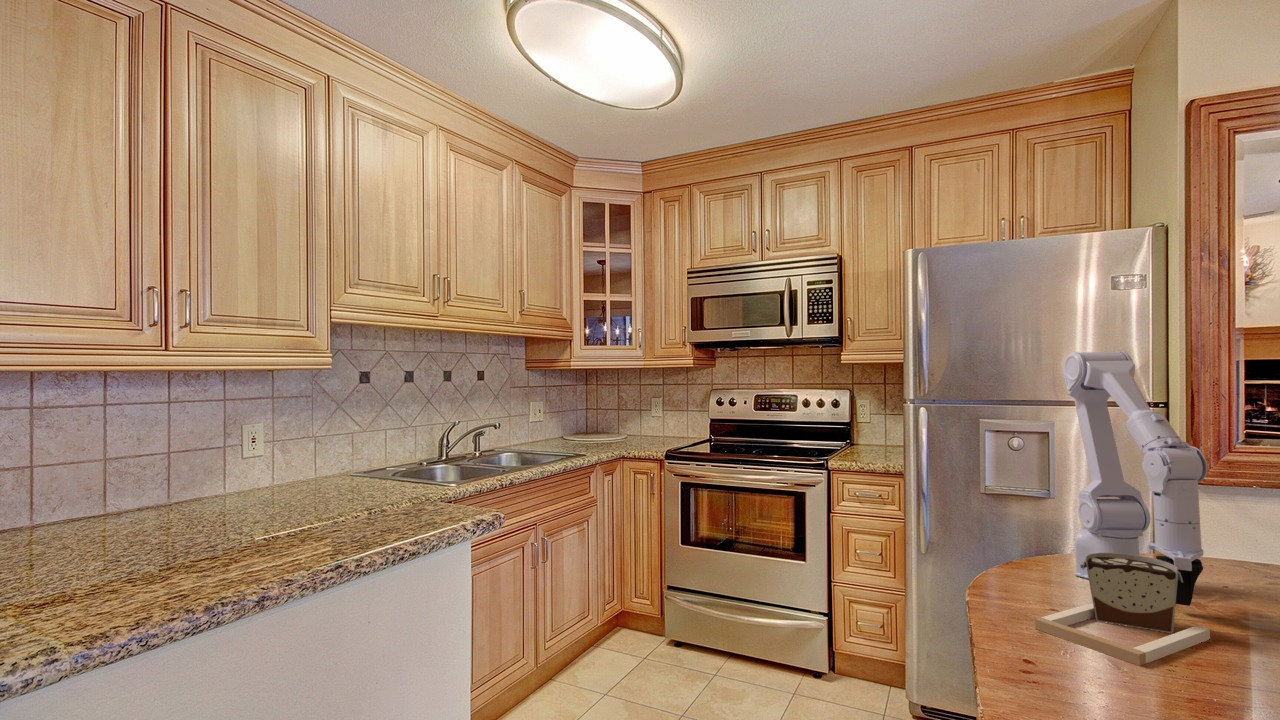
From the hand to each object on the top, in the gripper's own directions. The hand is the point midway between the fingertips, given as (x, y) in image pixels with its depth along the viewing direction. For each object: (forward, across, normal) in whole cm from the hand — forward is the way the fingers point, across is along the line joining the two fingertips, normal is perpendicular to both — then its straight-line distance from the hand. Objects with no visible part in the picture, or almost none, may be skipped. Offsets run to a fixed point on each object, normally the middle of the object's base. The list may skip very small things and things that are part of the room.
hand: (1181, 603), depth 100 cm
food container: (+2, +8, -7) cm, 11 cm away
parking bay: (+2, +15, -8) cm, 17 cm away
